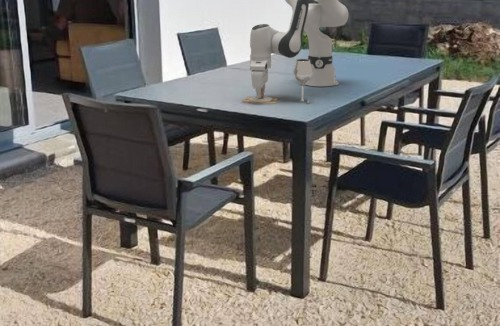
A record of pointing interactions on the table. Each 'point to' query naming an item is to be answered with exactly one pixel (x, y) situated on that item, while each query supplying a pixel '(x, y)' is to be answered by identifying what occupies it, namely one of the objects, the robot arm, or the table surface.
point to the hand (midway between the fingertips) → (260, 95)
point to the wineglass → (302, 73)
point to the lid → (261, 99)
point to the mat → (261, 102)
